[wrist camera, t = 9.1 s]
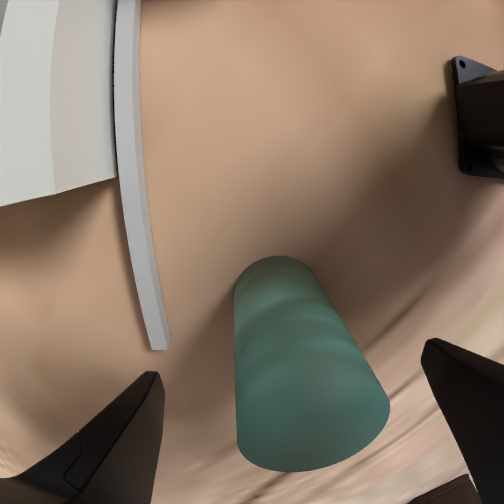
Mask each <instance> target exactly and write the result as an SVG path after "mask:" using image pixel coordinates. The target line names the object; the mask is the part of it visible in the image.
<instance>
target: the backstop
mask: <svg viewBox="0 0 504 504" xmlns="http://www.w3.org/2000/svg"><path fill="white" fill-rule="evenodd" d="M141 4H142V0H118V6H117V17H116V31H115V53H114V108H115V131H116V146H117V159H118V170H119V180H120V189H121V197H122V205H123V213H124V220H125V226H126V233H127V239H128V245H129V251H130V256H131V262H132V267H133V272H134V277H135V282H136V287H137V291H138V296H139V300H140V305H141V309H142V313H143V318H144V322H145V326H146V330H147V333H148V337H149V341H150V345H151V348H152V350H168V347H169V344H170V340H171V336H170V331H169V327H168V322H167V317H166V312H165V307H164V302H163V297H162V292H161V287H160V281H159V275H158V270H157V264H156V257H155V251H154V245H153V238H152V231H151V224H150V216H149V208H148V199H147V191H146V181H145V171H144V159H143V146H142V131H141V111H140V22H141Z"/></svg>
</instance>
